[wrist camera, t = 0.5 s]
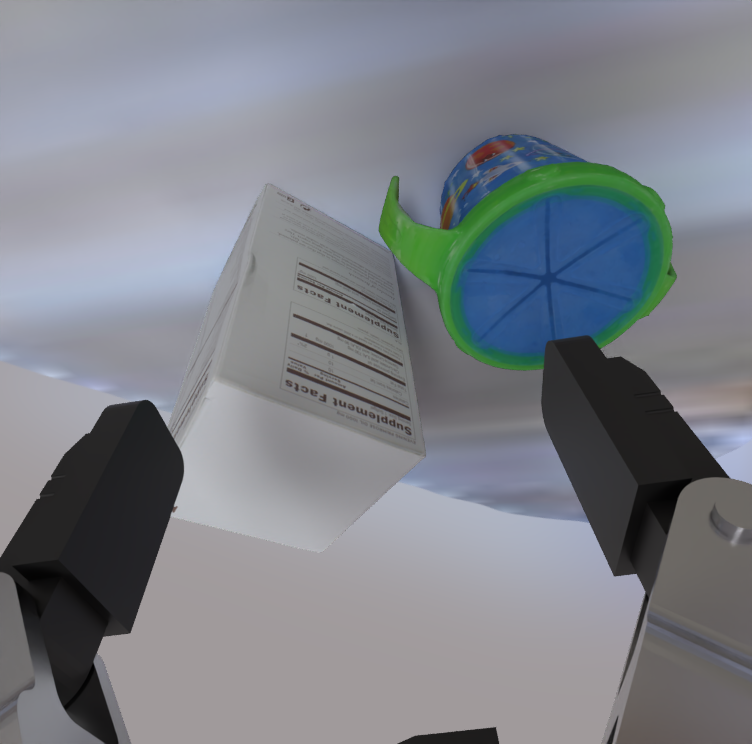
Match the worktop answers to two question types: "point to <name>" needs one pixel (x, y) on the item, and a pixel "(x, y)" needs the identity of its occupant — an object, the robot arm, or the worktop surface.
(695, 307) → the worktop surface
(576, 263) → the snack cup
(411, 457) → the supplement box
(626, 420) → the robot arm
